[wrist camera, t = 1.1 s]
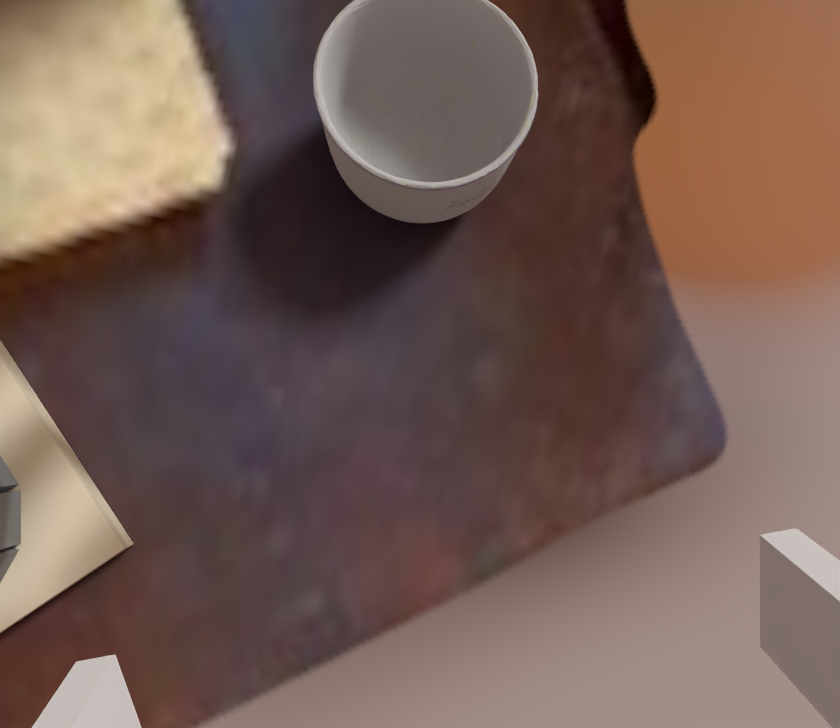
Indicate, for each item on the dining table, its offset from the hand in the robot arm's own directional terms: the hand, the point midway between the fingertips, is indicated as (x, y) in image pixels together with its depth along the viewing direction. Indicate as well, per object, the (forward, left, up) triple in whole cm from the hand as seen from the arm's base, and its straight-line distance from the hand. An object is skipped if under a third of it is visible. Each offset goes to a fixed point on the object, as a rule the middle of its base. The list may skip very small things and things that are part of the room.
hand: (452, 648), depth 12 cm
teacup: (-18, +14, -21) cm, 31 cm away
